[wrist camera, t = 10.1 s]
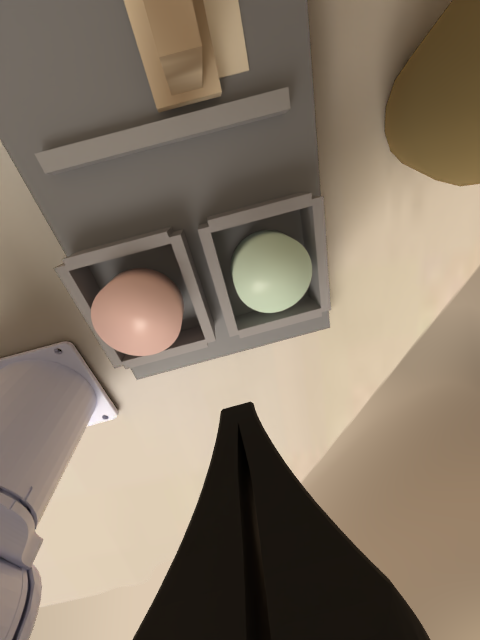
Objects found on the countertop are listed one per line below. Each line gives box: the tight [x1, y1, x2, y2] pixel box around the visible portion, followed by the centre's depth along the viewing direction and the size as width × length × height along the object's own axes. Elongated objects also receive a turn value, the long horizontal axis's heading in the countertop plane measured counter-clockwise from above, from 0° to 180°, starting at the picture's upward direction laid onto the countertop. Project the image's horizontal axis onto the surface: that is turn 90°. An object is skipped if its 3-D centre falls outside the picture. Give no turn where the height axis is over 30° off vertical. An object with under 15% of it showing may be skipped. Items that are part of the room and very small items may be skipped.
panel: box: [0, 0, 331, 380], centre depth 13 cm, size 15×22×4 cm
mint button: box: [230, 230, 312, 313], centre depth 15 cm, size 4×4×2 cm
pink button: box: [91, 268, 184, 356], centre depth 14 cm, size 4×4×2 cm
